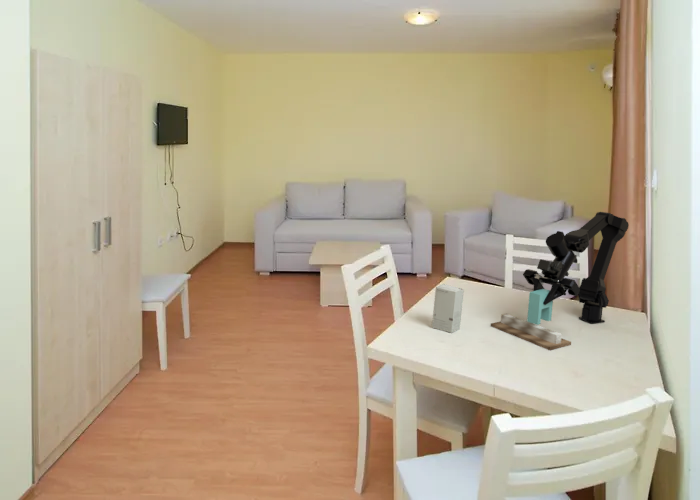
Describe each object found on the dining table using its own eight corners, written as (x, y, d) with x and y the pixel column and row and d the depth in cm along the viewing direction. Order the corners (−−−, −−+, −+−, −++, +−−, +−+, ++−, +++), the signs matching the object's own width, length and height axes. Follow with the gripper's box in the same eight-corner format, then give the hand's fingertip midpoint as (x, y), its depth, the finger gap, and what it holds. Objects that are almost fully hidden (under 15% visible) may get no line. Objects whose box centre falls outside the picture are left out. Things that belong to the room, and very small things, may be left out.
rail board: (490, 326, 208) (491, 315, 207) (511, 321, 213) (511, 311, 212) (549, 350, 186) (550, 338, 185) (571, 344, 191) (572, 333, 190)
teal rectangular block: (540, 317, 199) (543, 288, 197) (551, 320, 196) (553, 291, 194) (527, 321, 195) (529, 292, 193) (537, 324, 192) (540, 295, 190)
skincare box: (431, 328, 205) (433, 286, 202) (440, 323, 209) (443, 283, 206) (452, 333, 200) (455, 291, 197) (461, 329, 204) (464, 287, 201)
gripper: (528, 245, 200) (505, 282, 196) (578, 255, 186) (554, 295, 182) (540, 265, 207) (518, 300, 202) (589, 276, 192) (566, 315, 188)
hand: (538, 302), depth 193 cm, fingers closed on teal rectangular block, 4 cm apart
